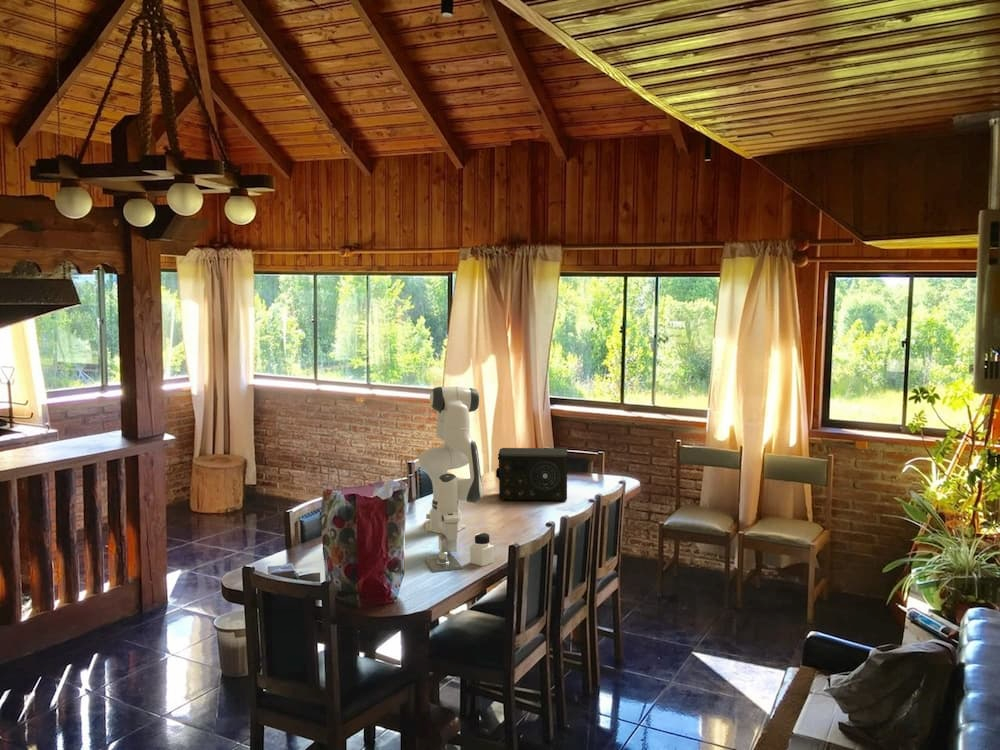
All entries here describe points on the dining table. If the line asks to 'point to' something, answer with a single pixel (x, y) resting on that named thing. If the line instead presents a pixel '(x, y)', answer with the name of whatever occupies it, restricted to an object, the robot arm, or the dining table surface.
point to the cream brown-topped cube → (443, 544)
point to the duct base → (443, 563)
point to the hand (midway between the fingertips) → (447, 544)
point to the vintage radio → (532, 474)
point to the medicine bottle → (482, 550)
